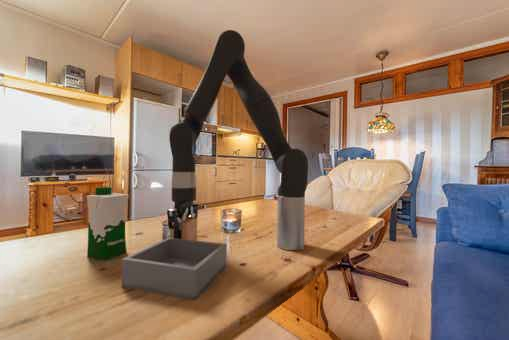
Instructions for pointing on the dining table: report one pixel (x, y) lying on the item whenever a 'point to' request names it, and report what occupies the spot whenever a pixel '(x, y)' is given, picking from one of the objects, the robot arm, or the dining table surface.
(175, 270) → the big crate
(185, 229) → the box
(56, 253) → the dining table surface
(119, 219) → the milk carton
